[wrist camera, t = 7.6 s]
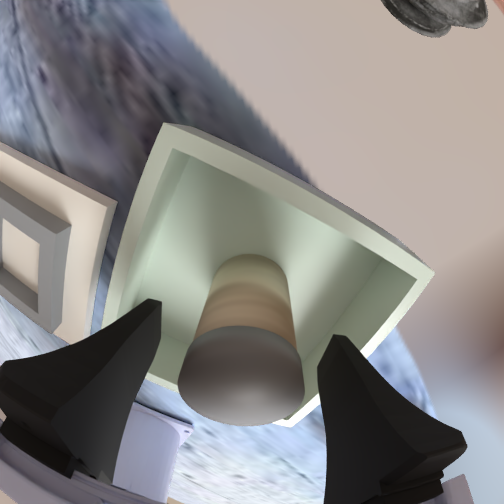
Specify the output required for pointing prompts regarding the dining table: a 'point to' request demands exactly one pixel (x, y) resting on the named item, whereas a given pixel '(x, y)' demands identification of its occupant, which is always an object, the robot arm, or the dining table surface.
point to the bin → (254, 242)
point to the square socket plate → (50, 244)
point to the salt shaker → (438, 14)
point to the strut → (244, 347)
